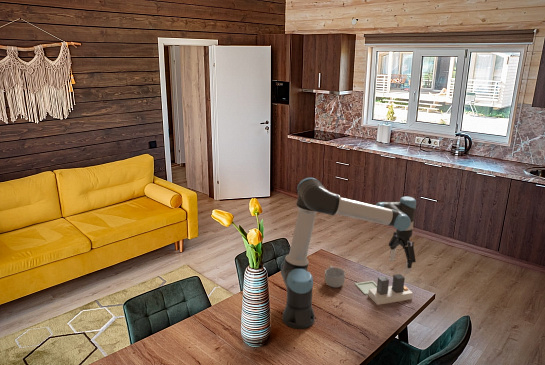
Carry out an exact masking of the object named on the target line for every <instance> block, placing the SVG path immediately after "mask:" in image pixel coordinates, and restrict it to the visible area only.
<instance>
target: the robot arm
mask: <svg viewBox="0 0 545 365" xmlns="http://www.w3.org/2000/svg"><path fill="white" fill-rule="evenodd" d="M296 192H297V193H296V194H297V198H296V203H295V206H296V207H297V209H298V210H297V215H296V221H295V225H294V228H293V234H292V240H291V244H290V248H289V254H286V256H285V257H284V260H283V261H282V262H281V264H280V274H281V275H280V276H281V278H282V279H283V282H284V286H285V289H286V305H285V307H284V309H283V311H282V322H283V324H285V325H286V326H287V327H289V328H292V329H296V330H298V329H299V330H300V329H301V330H303V329H307V328H310V327H312V326H313V325H314V323H315V321H316V320H315V319H316V316H315V312H314V308H313V305H312V304H313V302H312V301H313V288H314V278H313V275H312V273H310V271H308V268H309V267H308V266H309V263H310V261H309V259H308V258H307V257H308V252H309V248H310V244H311V240H312V235H313V230H314V226H315V221H316V217H317V213H320V214H325V215H328V216H329V215H330V216H336V215H339V216H343V217H344V216H345V217H349V218H353V219H357V220H362V221H367V222H371V223H376V224H380V225H385V226H389V227H393V228H395V229H396V231H394V232H393V235H392V237H391V239H390V241H389V243H388V247H389V248H390V254H389V262H395V261H396V256H397V247H398V246H401V247H402V249H403V250H404V254H405V257H406V260H405V269H404V274H405V275H406V274H411V271H412V270H411V269H412V266H413V263H416V254H415V248H414V245H415V242H414V241H410V238H412V236H413V228H414V223H415V222H414V221H415V215H416V209H417V200H416V199H415V198H414V197H412V196H402V197H400V200H399V201H379V202H377V203H375V205H374V204H371V203H366V202H361V201H358V200H354V199H349V198H346V197H341V196H340V194H338V193H335V192H332V191H330V190H328V189H327V188H326V187H325V186H324V185H323V184H322V182H321V181H320V180H318V179H317V178H314V177H305V178H304V179H302V180H300V182H299V183H298V184H297V188H296Z"/></svg>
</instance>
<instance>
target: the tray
mask: <svg viewBox="0 0 545 365" xmlns="http://www.w3.org/2000/svg"><path fill="white" fill-rule="evenodd" d="M354 285H355V286H356V287H357V289H359V291H361V292H362V293H363V295H365V296H367V295H368V294H369V289H374V288H377V283H376V282H375V280H368V281H361V282H355V283H354Z"/></svg>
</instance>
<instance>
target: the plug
mask: <svg viewBox="0 0 545 365" xmlns="http://www.w3.org/2000/svg"><path fill="white" fill-rule="evenodd" d="M405 279H406V278H405V276H404V275H402V273H398V274H393V277H392V285H391V286H392V290H393V291H394V292H395V293H400V292H403V288H404V286H405Z"/></svg>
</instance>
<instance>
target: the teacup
mask: <svg viewBox="0 0 545 365" xmlns="http://www.w3.org/2000/svg"><path fill="white" fill-rule="evenodd" d="M345 278H346V272H345V270H344V269H343V268H340V267H333V265H329V267H328V268H326V269H325V270H324V281H325V283H326V285H328V287H331V288H333V289H334V288H336V289H337V288H340V287H342V286H343V285H344V284H345Z"/></svg>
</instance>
